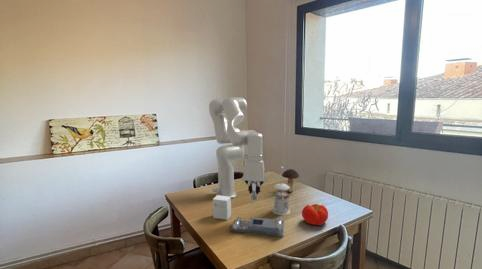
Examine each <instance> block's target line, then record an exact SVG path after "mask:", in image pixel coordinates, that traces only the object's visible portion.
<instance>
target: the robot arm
mask: <svg viewBox="0 0 482 269" xmlns="http://www.w3.org/2000/svg"><path fill="white" fill-rule="evenodd" d="M208 104H209V105H208V111H209V115H210V117H211V120H212V123H213V127H214V133H215V134H214V135H215V139H216V142H217V143H218V144H220V145H222V146H219V147H217V149H216V150H215V156H216V159H217V160H216V161H217V173H218V174H217V177H218V178H217V179H218V187H217V188H216V187H212V192H213V193H216V195H215V197H216V196H217V195H220V196H228V197H231V199H234V198H236V196H238V195H237V192H236V191H235V178H234V177H235V176H234V175H235V172H234V166H233V164H232V163H231V161H238V160H242V159H245V162H244V166H243V167H244V168H243V176H242V177H241V178H240V179H241V180H240V181H243V182H244V183H245V184H246V185H247V186H248V190H247V191H248V192H249V194H250V195H251V181H257V195H259V193H260V192H261V186H262V185H263V184H265V183H267V182H268V178H267V177H266V174H265V172H266V170H265V162H264V159H263V141H264V140H263V134H262V133H260V132H257V131H256V130H254V129H248V130H247V129H246V130H240V129H239V128H238V127H236V126H239V124H241V123H242V122H243V121H244V120H245V115H244V113H243V112H245V111H246V110H247V108H248V104H247V101H246V99H245V98H244V97H241V96H239V97H238V96H237V97H236V96H235V97H232V96H231V97H226V98H216V99H213V100H211V101H210V102H209V103H208ZM223 114H225V116H226V117H225V116H224V115H223ZM227 119H228V120H227ZM224 144H229V145H224ZM245 146H246V154H245V148H244V147H245Z"/></svg>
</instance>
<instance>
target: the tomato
mask: <svg viewBox="0 0 482 269" xmlns="http://www.w3.org/2000/svg"><path fill="white" fill-rule="evenodd" d="M301 216H302V219H303V220H304V221H305V222H306V223H307V224H309V225H313V226H314V225H316V226H321V225H323V224H325V223H326V222H327V220H328V219H329V212H328V209H327V208H326V206H325V205H324V204H317V203H314V204H311V205H309V204H306V205H305V206H304V207H303V208H302V211H301Z"/></svg>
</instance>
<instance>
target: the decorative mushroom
mask: <svg viewBox="0 0 482 269" xmlns="http://www.w3.org/2000/svg"><path fill="white" fill-rule="evenodd" d="M281 177H282V178H286V179H287V184H286V185H288V186H289V189H288V190H287V191H288V192H290V193H291V192H294V190H295V185H294V184H295V182H294V179H298V178H300V174H299V172H298V171H296V170H295V169H292V168H288V169H286V170H284V171H282V173H281Z"/></svg>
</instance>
